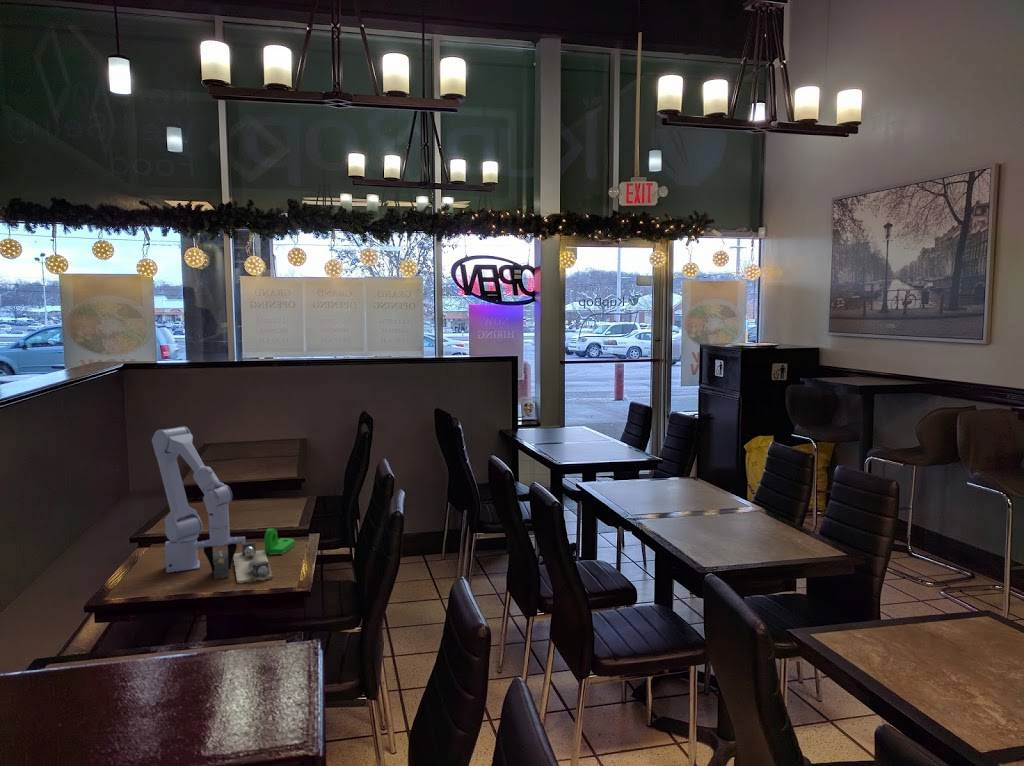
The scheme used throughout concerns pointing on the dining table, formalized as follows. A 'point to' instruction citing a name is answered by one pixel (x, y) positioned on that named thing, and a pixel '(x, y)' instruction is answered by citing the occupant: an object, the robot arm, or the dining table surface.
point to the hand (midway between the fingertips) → (221, 569)
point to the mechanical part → (276, 542)
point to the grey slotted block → (221, 564)
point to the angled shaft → (259, 568)
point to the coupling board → (243, 571)
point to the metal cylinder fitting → (249, 549)
